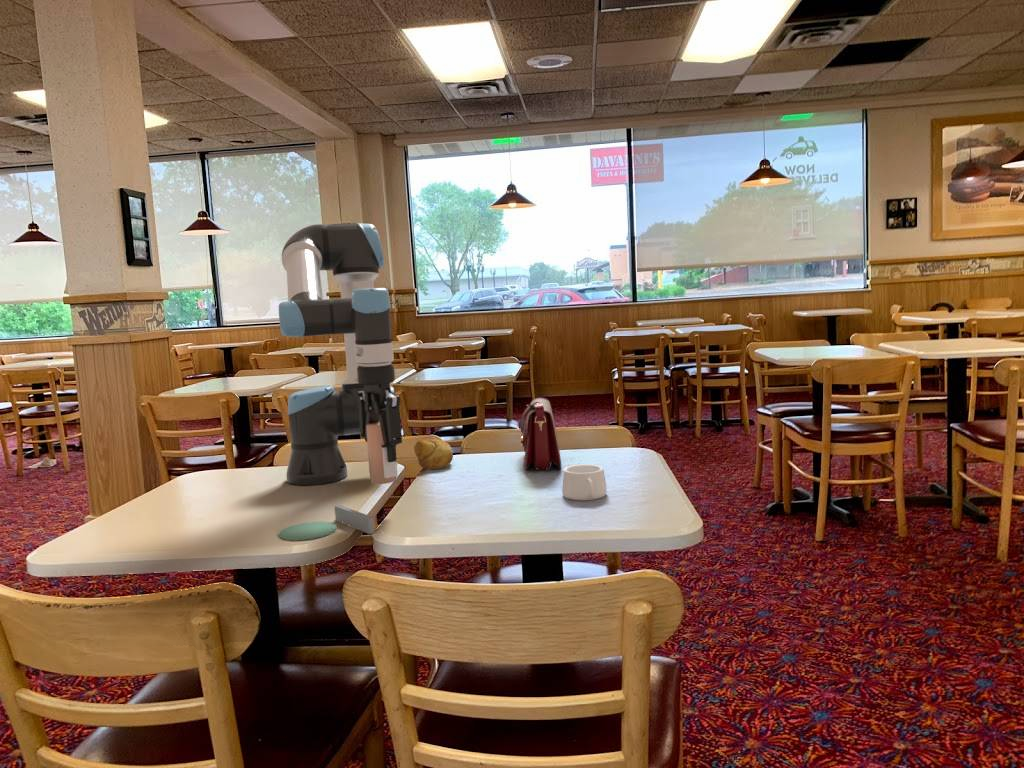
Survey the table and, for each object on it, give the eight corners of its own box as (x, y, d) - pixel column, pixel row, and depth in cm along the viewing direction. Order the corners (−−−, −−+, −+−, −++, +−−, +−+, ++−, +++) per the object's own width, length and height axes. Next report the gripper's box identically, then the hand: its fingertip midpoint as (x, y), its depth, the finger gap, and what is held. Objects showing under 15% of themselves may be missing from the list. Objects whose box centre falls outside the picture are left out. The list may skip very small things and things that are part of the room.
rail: (335, 520, 155) (334, 505, 155) (340, 518, 156) (339, 504, 156) (369, 534, 145) (368, 518, 144) (374, 532, 145) (373, 517, 145)
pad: (270, 532, 149) (269, 530, 149) (321, 519, 156) (321, 518, 156) (293, 544, 141) (293, 542, 141) (346, 530, 148) (346, 528, 148)
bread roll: (423, 461, 210) (421, 432, 209) (458, 459, 209) (456, 431, 208) (413, 471, 197) (411, 441, 196) (450, 470, 196) (448, 440, 195)
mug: (558, 492, 169) (557, 465, 168) (600, 488, 170) (599, 462, 169) (569, 506, 157) (568, 477, 156) (615, 502, 158) (614, 474, 158)
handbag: (522, 452, 214) (518, 391, 212) (559, 450, 214) (556, 389, 212) (519, 475, 187) (515, 405, 185) (562, 473, 186) (559, 403, 184)
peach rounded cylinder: (365, 480, 159) (361, 424, 157) (388, 475, 162) (384, 420, 160) (378, 485, 154) (374, 427, 153) (401, 480, 158) (398, 423, 156)
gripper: (337, 363, 159) (346, 470, 163) (382, 368, 145) (390, 485, 149) (369, 359, 164) (376, 463, 167) (415, 364, 150) (422, 478, 153)
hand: (383, 474), depth 158 cm, fingers closed on peach rounded cylinder, 5 cm apart
